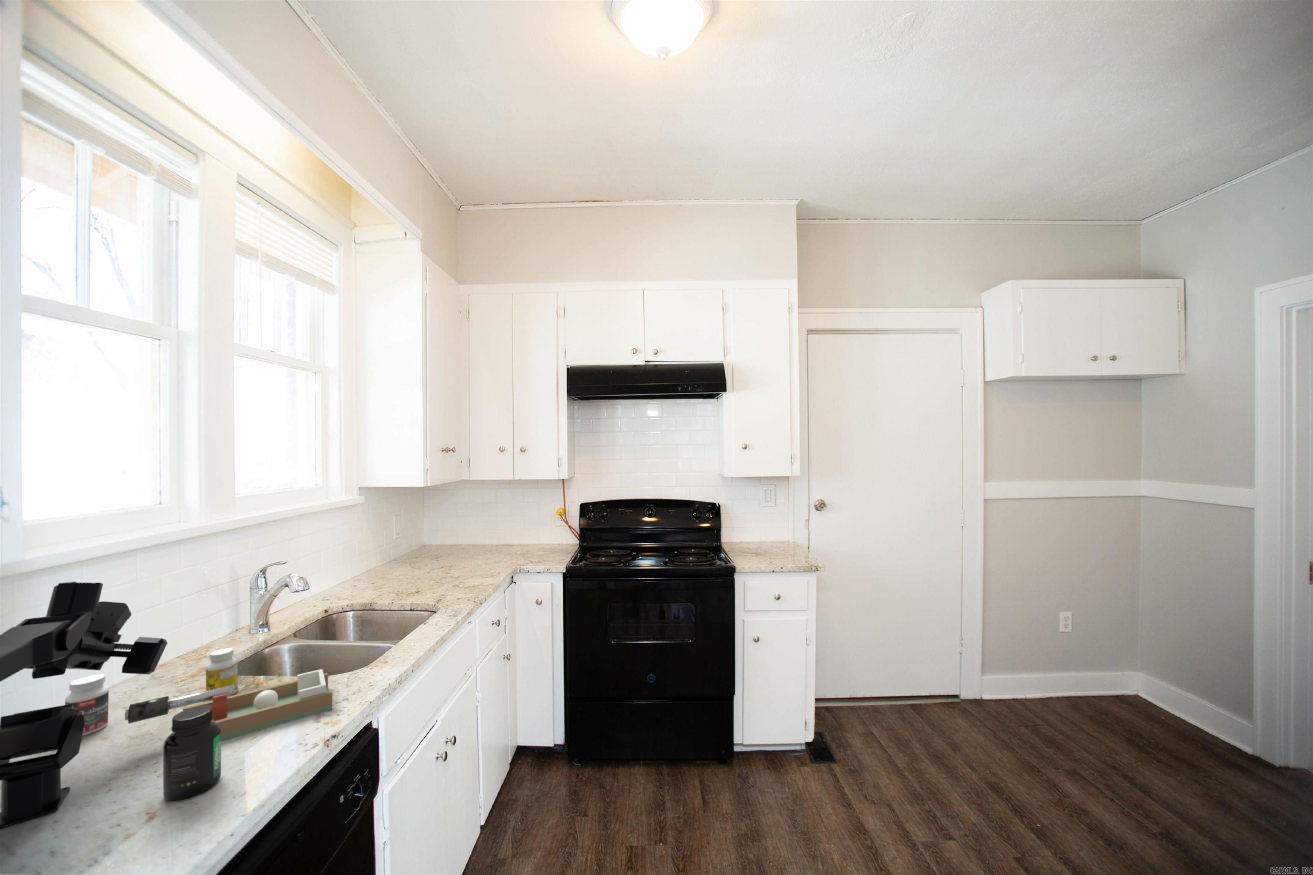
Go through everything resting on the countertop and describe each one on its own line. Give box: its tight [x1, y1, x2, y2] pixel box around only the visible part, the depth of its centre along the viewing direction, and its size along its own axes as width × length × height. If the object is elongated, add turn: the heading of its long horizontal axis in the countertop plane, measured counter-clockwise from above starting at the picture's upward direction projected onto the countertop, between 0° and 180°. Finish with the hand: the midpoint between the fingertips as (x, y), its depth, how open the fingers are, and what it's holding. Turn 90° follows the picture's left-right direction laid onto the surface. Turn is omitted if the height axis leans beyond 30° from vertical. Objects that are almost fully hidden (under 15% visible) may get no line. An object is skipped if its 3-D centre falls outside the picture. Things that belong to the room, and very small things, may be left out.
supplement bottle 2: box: [205, 647, 239, 701], centre depth 113 cm, size 5×5×10 cm
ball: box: [253, 690, 278, 710], centre depth 103 cm, size 4×4×4 cm
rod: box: [124, 685, 235, 724], centre depth 96 cm, size 4×15×7 cm, turn 127°
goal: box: [296, 668, 326, 699], centre depth 108 cm, size 10×5×4 cm, turn 37°
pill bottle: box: [64, 673, 110, 737], centre depth 99 cm, size 6×6×10 cm
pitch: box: [182, 672, 333, 741], centre depth 102 cm, size 12×24×4 cm, turn 127°
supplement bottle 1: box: [162, 706, 222, 802], centre depth 81 cm, size 7×7×12 cm
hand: (117, 656), depth 99 cm, fingers open, 9 cm apart
